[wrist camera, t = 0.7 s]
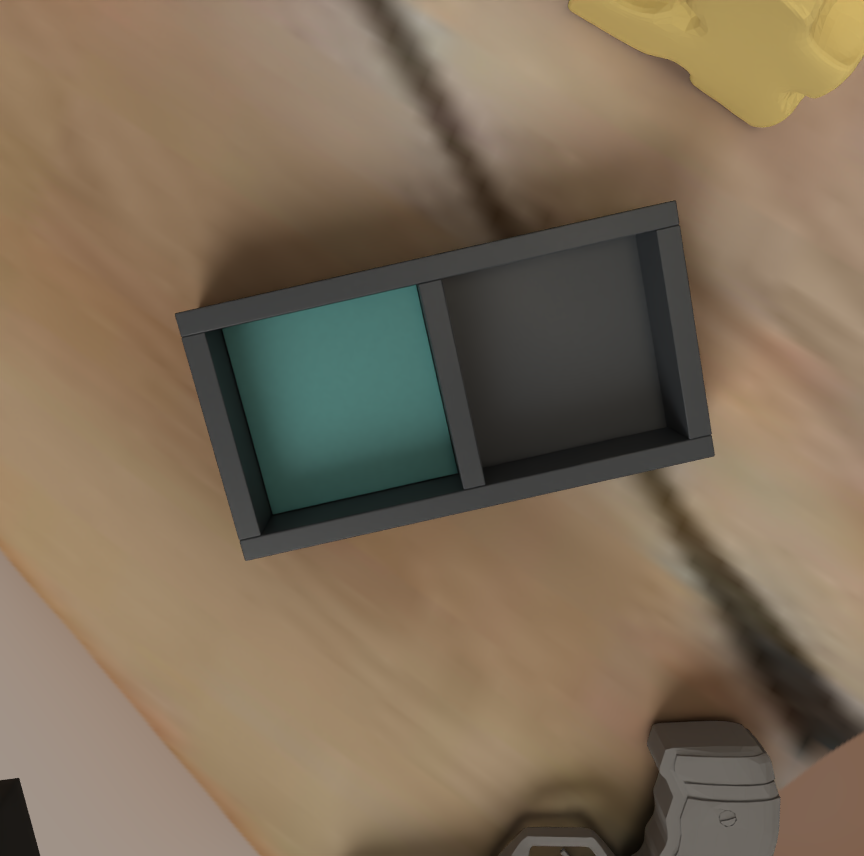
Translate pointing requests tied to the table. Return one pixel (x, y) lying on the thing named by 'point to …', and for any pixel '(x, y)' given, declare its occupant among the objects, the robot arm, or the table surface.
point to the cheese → (743, 46)
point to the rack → (452, 381)
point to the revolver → (693, 798)
